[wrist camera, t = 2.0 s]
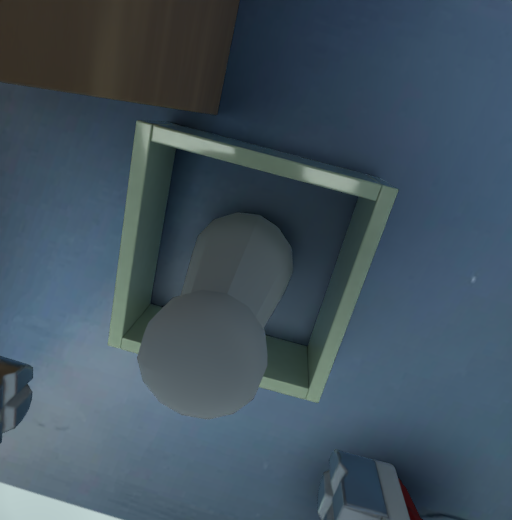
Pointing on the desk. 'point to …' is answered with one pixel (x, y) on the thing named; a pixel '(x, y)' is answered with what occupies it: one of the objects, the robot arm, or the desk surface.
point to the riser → (120, 49)
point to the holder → (271, 161)
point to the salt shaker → (218, 319)
